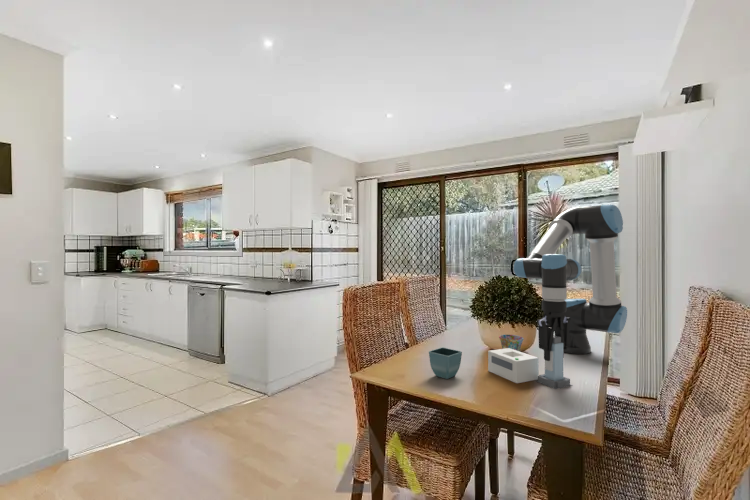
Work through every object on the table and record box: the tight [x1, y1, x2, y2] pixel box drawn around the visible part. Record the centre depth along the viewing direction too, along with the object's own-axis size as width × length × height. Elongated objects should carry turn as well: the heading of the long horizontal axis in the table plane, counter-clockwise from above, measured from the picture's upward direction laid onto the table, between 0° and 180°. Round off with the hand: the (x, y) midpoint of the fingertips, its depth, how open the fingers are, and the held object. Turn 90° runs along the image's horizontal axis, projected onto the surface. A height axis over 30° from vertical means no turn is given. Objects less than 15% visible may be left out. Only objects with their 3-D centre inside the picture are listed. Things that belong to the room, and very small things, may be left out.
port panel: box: [487, 348, 540, 384], centre depth 132 cm, size 10×14×8 cm
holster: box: [535, 373, 573, 390], centre depth 124 cm, size 8×8×2 cm
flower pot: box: [428, 347, 463, 380], centre depth 133 cm, size 9×9×9 cm
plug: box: [544, 334, 564, 381], centre depth 124 cm, size 4×4×15 cm
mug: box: [498, 334, 525, 352], centre depth 149 cm, size 12×9×11 cm
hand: (554, 368), depth 124 cm, fingers closed on plug, 4 cm apart
